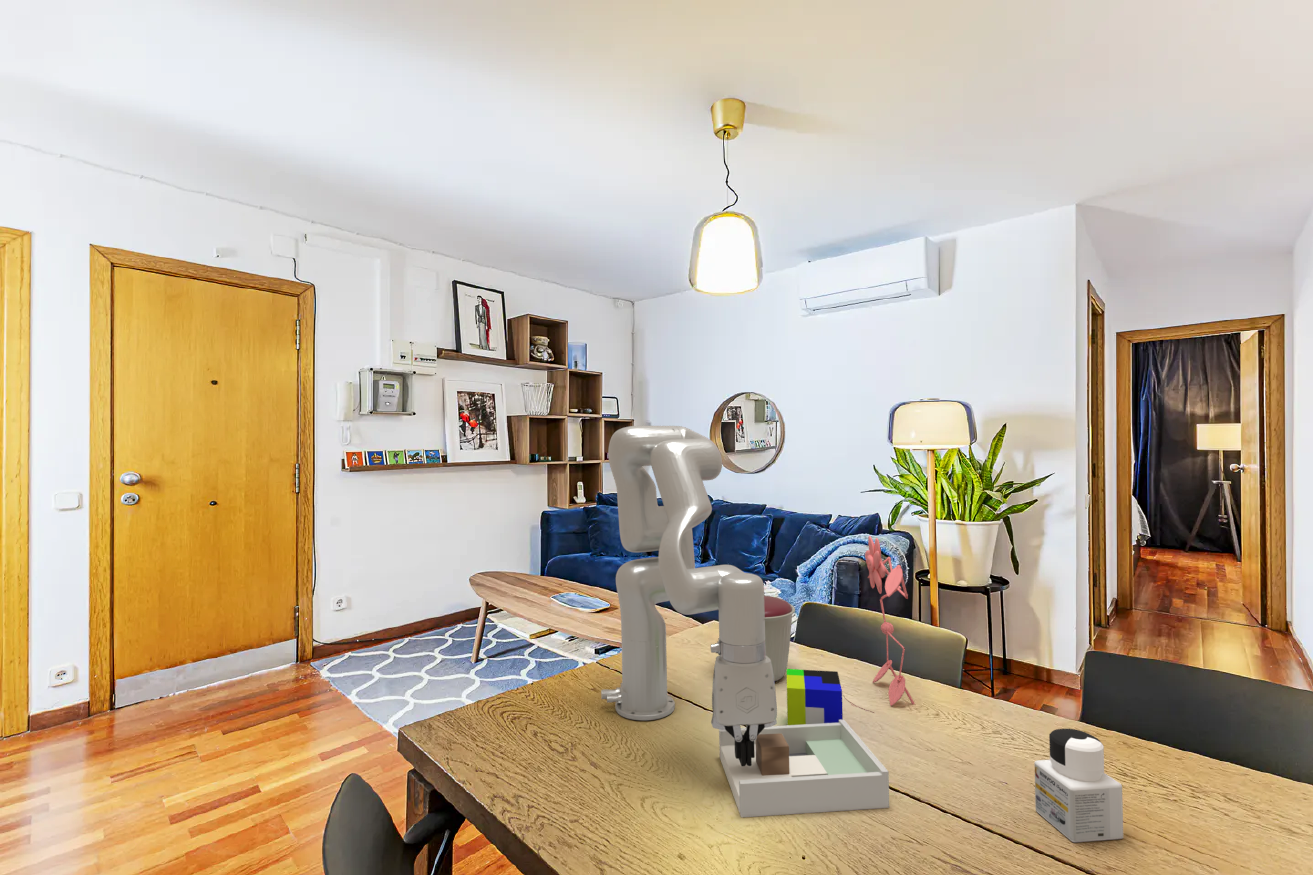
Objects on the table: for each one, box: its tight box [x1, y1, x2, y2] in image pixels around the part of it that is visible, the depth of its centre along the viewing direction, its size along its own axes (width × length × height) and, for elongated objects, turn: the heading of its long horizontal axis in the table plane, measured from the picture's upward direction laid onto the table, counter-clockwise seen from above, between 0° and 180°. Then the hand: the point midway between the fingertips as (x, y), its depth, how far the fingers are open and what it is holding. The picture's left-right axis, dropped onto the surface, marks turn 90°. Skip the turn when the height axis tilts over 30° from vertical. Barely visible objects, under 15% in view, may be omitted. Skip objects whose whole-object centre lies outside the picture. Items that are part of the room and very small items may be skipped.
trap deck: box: [718, 719, 890, 818], centre depth 104 cm, size 23×18×6 cm
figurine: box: [841, 535, 915, 714], centre depth 138 cm, size 15×26×35 cm, turn 174°
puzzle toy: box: [786, 668, 844, 725], centre depth 121 cm, size 10×10×10 cm
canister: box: [764, 595, 796, 682], centre depth 150 cm, size 18×18×21 cm
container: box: [1033, 728, 1124, 843], centre depth 90 cm, size 8×8×13 cm
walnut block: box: [756, 733, 789, 776], centre depth 103 cm, size 4×4×4 cm
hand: (744, 761), depth 103 cm, fingers closed
